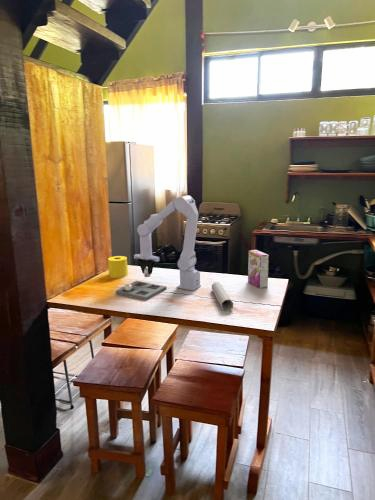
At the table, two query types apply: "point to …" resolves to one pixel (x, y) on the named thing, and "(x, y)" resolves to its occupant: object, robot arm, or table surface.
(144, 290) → the hole board
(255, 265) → the candy bar box
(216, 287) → the tube
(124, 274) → the tape roll
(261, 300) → the table surface
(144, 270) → the loose pin
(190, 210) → the robot arm
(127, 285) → the pin
